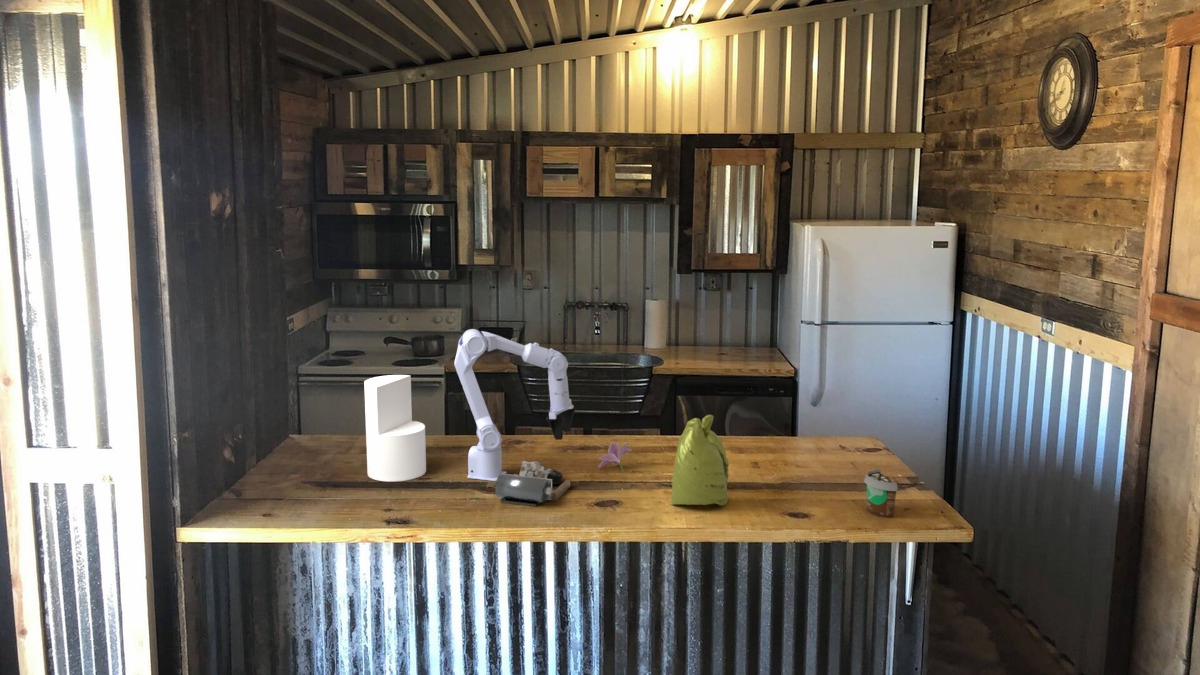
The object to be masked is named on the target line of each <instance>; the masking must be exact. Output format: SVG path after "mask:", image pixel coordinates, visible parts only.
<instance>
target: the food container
mask: <svg viewBox="0 0 1200 675" xmlns="http://www.w3.org/2000/svg"><path fill="white" fill-rule="evenodd" d="M864 477H865V478H864V480H863V481H864V483H865V484H866V510H867V512H868V513H869V514H871V515H873V516H876V517H881V518H886V519H888V518H889V519H893V518H894V514H895V504H896V497H897V492H898V483H897V482H892V481H891V479H890V478H889V477H888V476H885V475H884V474H882V472H881V468H880V469H877V468H876V469H871V470H869V471H867V473H866V474H865V476H864Z"/></svg>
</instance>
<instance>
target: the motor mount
mask: <svg viewBox="0 0 1200 675" xmlns="http://www.w3.org/2000/svg"><path fill="white" fill-rule="evenodd" d="M569 488H571V479H565V480H564V481H563V482H561V483H560V484H559V486H558V487H557V488H556V489H555V490H554V491H553V484H552V479H545V478H536V477H527V476H519V474H518V473H513V474H509V473H508V474H507V473H506V474H500V475H499V476H498V478H497V481H495V488H494V490H495V495H496V497H497V498H501V503H502V502H503V503H505V504H510V503H512V504H511V505H518V504H522V505H521V506H527V505H532V506H531V507H535V506H536V505H537V504H538V503H539V502H540V503H542V504H543V503H545V502H546V501H547V500H552V501H558V499H559V498H560V497H561V496H563V494H565V493H566V491H568V489H569ZM540 503H539V504H540ZM539 504H538V505H539ZM538 505H537V506H538ZM537 506H536V507H537Z"/></svg>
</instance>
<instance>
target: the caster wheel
mask: <svg viewBox="0 0 1200 675" xmlns="http://www.w3.org/2000/svg"><path fill="white" fill-rule="evenodd" d="M518 476H527V477H536V478H545V479H552V485H561V484H562V479H563V476H564V475H563V473H562V472H560V471H558V470H556V469H553V468H549V467H546V465H545V464H544V463H542V462H541V461H537V460H534V461H525V460H522V463H521V466H520V471H519V474H518Z"/></svg>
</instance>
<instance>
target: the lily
mask: <svg viewBox="0 0 1200 675" xmlns="http://www.w3.org/2000/svg"><path fill="white" fill-rule="evenodd" d="M630 443H631V441H627V442H625V443H624V444H623V445H619V444H618V443H616V442H615V441H613V442H611V443H610V445H609V447H608V450H607V453H606V454H604V455H602V456H600V457H599V458H598V460H602V461H600V463H599V464H598V467H597V469H600V468H602V467H603V466H605V465H606V464H609V463H612V464H613V465H615V466H617V465H618V464H619V465H620V468H621V471H622V473H623V474H625V471H624V468H623V466H622V463H621V458H622V456H624V455H625V454H628V453H630V452H632V451H633V449H631V448H630V447H628V446H629V444H630Z"/></svg>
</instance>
